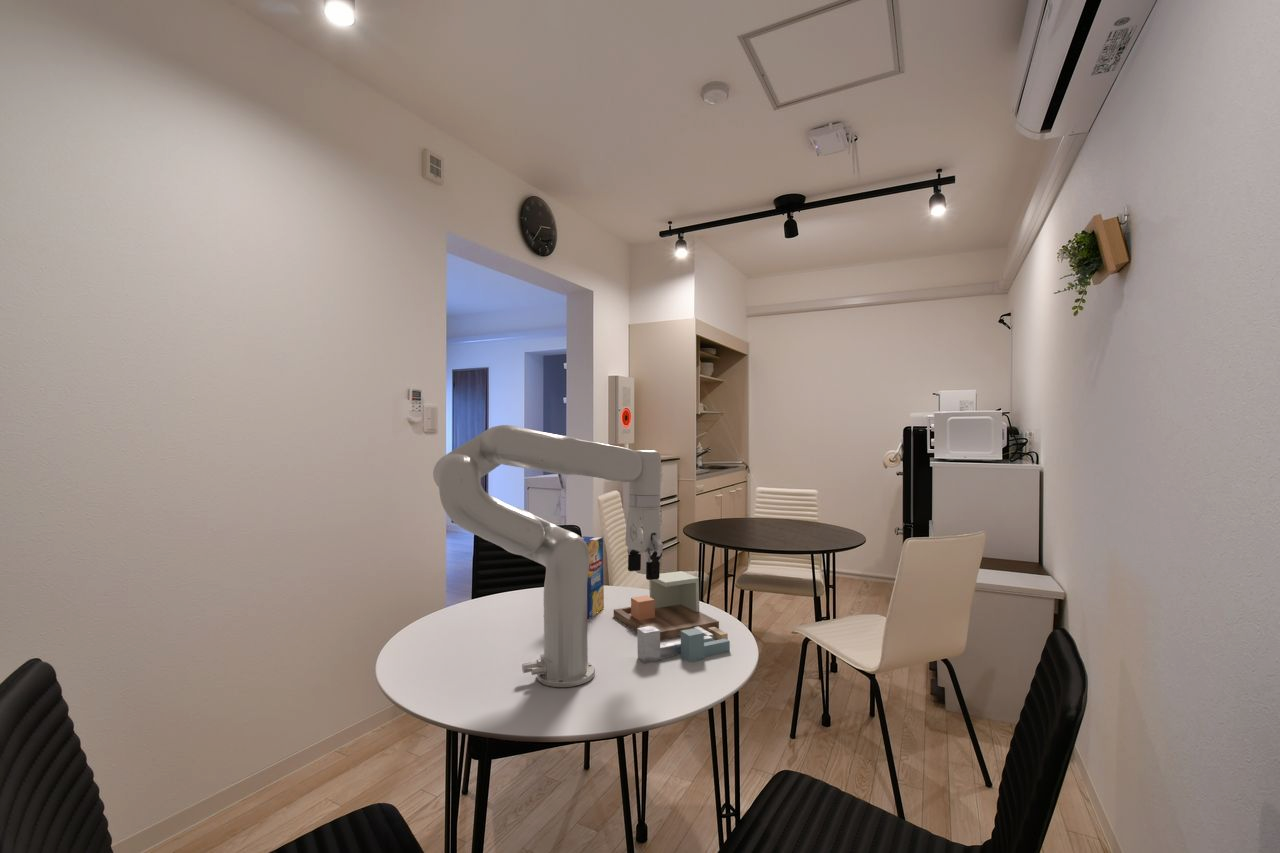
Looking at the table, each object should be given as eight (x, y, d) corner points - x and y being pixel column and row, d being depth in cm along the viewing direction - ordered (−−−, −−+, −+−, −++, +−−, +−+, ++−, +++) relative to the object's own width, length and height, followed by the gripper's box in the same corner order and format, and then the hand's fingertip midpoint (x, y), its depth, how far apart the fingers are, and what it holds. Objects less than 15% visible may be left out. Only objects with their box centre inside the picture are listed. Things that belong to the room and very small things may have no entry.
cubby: (666, 617, 156) (665, 582, 157) (649, 608, 165) (649, 575, 166) (699, 611, 161) (698, 577, 162) (681, 603, 170) (681, 571, 171)
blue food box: (604, 608, 172) (603, 537, 173) (588, 619, 162) (587, 543, 163) (584, 606, 175) (583, 536, 175) (567, 617, 164) (566, 542, 165)
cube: (638, 620, 154) (638, 602, 154) (631, 615, 159) (630, 597, 159) (654, 617, 156) (654, 599, 157) (646, 612, 161) (646, 595, 161)
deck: (650, 641, 143) (650, 633, 143) (613, 616, 165) (613, 609, 165) (719, 628, 152) (718, 621, 152) (675, 606, 174) (675, 599, 174)
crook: (645, 663, 129) (644, 633, 129) (627, 649, 138) (626, 621, 138) (720, 648, 138) (719, 619, 138) (698, 635, 147) (698, 609, 147)
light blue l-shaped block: (689, 661, 130) (689, 635, 130) (680, 656, 133) (680, 630, 133) (732, 652, 135) (731, 627, 135) (722, 647, 138) (722, 623, 139)
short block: (727, 643, 142) (727, 633, 142) (721, 644, 141) (721, 634, 141) (714, 636, 147) (714, 626, 147) (708, 637, 146) (708, 627, 146)
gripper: (615, 499, 139) (614, 568, 138) (646, 505, 123) (645, 584, 122) (642, 498, 142) (641, 566, 141) (676, 505, 126) (675, 581, 126)
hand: (643, 574), depth 132 cm, fingers open, 9 cm apart
